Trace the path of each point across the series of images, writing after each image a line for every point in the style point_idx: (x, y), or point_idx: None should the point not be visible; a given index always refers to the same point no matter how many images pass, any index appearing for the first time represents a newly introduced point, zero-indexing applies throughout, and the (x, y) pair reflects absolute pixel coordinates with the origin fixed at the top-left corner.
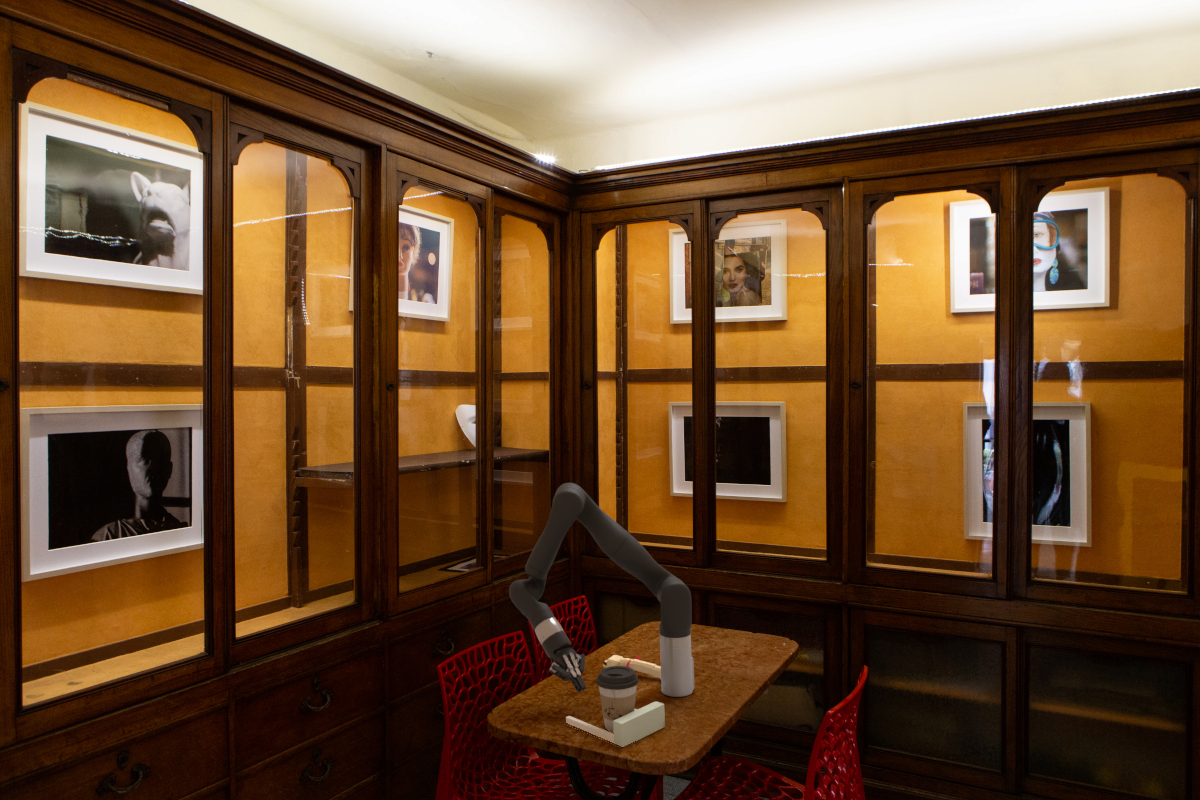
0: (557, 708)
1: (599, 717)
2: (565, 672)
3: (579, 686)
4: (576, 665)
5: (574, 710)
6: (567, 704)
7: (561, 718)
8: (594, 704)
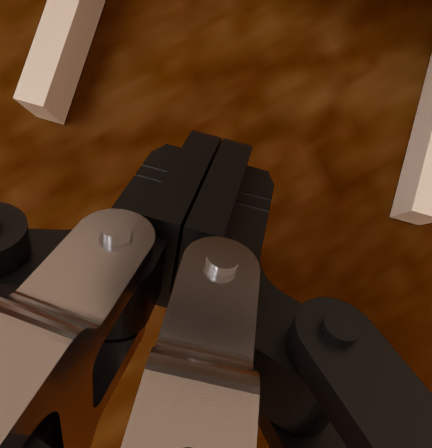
0: None
1: (224, 85)
2: (392, 414)
3: (254, 179)
4: (14, 325)
5: None
6: (122, 397)
7: None
8: (49, 218)
